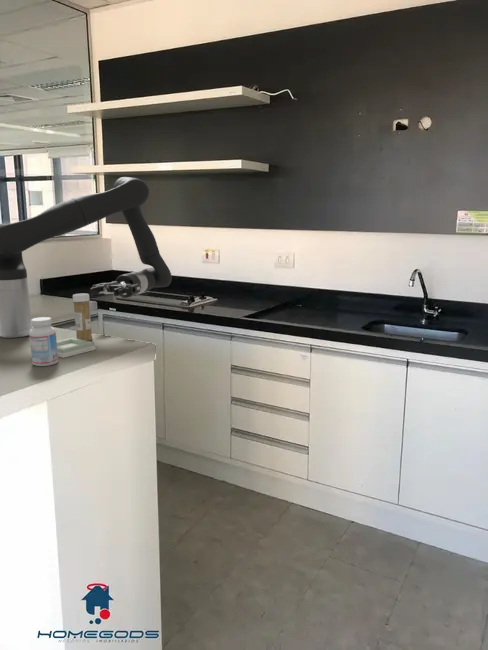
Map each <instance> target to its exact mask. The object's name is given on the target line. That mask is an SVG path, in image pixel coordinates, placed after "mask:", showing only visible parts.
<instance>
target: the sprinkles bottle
mask: <svg viewBox="0 0 488 650" xmlns="http://www.w3.org/2000/svg"><path fill="white" fill-rule="evenodd" d="M72 301H73V302H72V303H73V308H74V309H73V310H74V311H73V313H74V314H73V316H74V322H75V323H74V325H75V333H76V337H75V338H76V339H80V340H85V341H89V342H90V341H92V340H93V335H92V320H91V310H90V293H84V292H83V293H75V294H72Z"/></svg>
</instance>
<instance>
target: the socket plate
mask: <svg viewBox="0 0 488 650" xmlns="http://www.w3.org/2000/svg"><path fill="white" fill-rule="evenodd" d="M76 338H77V337H70V338H66V339H65V338H64V339H61V340H56V341H57V351H58V358H67V357H71V356H75V355H80V354H84V353H88V352H91V351H96V348H97V347H96V345H94V342H93V341H90V340H89V341H85V340H80V339H76Z"/></svg>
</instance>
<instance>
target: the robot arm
mask: <svg viewBox="0 0 488 650" xmlns="http://www.w3.org/2000/svg"><path fill="white" fill-rule="evenodd" d="M149 195H150V189H149V187H148V184H147V183H145V181H143V180H142V179H139V178H137V177H130V176H122V177H119V178H118V179H116V181H115V182H114V184H113V187H112V188H111V189H109V190H106V191H102V192H98V193H90V194H89V193H88V194H84V195H78V196H74V197H72V198H69V199H67V200H63V201H61V202H58V203H57V204H54V205H52V206H50V207H49V208H47V209H46V210H44V211H42V212H41V213H40V214H37V215H36V216H33V217H30V218H26V219H23V220H20V221H16V222H11V223H0V338H5V339H6V338H7V339H9V338H10V339H12V338H21V337H26V336H30V335H29V332H30V330H31V329H32V328H33V326H32V325H31V320H32V312H31V303H30V302H31V301H30V292H29V283H28V272H27V271H28V270H27V268H26V265H25V264H24V260H23V252H24V251H26V250H28V249H30V248H32V247H33V246H36V245H38V244H40V243H41V242H44V241H46V240H49V239H53V238H56V237H59V236H63V235H66V234H68V233H72V232H74V231H77V230H79V229H82V228H84V227H87V226H88V225H91V224H93V223H95V222H98V221H100V220H103V219H105V218H107V217H109V216H112V215H114V214H116V213H120V212H122V214H123V216H124V219H125V221H126V223H127V225H128V227H129V229H130V230H129V231H130V234H131V235H132V237H133V241H134V244H135V247H136V251H137V252H138V253H137V254H138V255H139V259H140V262H141V264H143V265H147V266H151V267H149V268H144V269H141V270H140V271H133V272H129V273H124V274H121V275H118V277H116V279H115V280H114V281H111V282H101V283H97V284H93V285H92V287H91V288H89V296H96V295H100V294H104V295H113V296H114V297H119V296H120V297H121V298H124V299H125V298H126V299H128V298H131V297H134V296H137V295H140V294H142V293H144V292H147V291H149V290H152V289H153V288H167V287H169V286H170V285H171V283H172V272H171V270H170V268H169V267H168V265H167V263H166V261H165V260H164V259H163V256H162V255H161V254H160V249H159V247H158V243H157V241H156V238H155V235H154V234H153V233H154V232H153V231H152V230H151V228H150V226H149V225H148V223H147V221H146V219H145V217H144V215H143V213H142V210H141V206H142V205H143V204H145V203H146V201H147V200H148V198H149Z"/></svg>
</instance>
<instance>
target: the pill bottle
mask: <svg viewBox="0 0 488 650" xmlns="http://www.w3.org/2000/svg"><path fill="white" fill-rule="evenodd" d="M52 323H53V322H52V317H49V316H48V317H47V316H42V317H41V316H40V317H35V318H31V325H32V329H31V330H30V332H29V335H28V336H29V342H30V352H31V362H32V365H33V366H36V367H48V366H54V365H56V364H57V363H58V362H59V356H58V351H57V341H58V340H57V331H56V329H55V328H54V326H52Z"/></svg>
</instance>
